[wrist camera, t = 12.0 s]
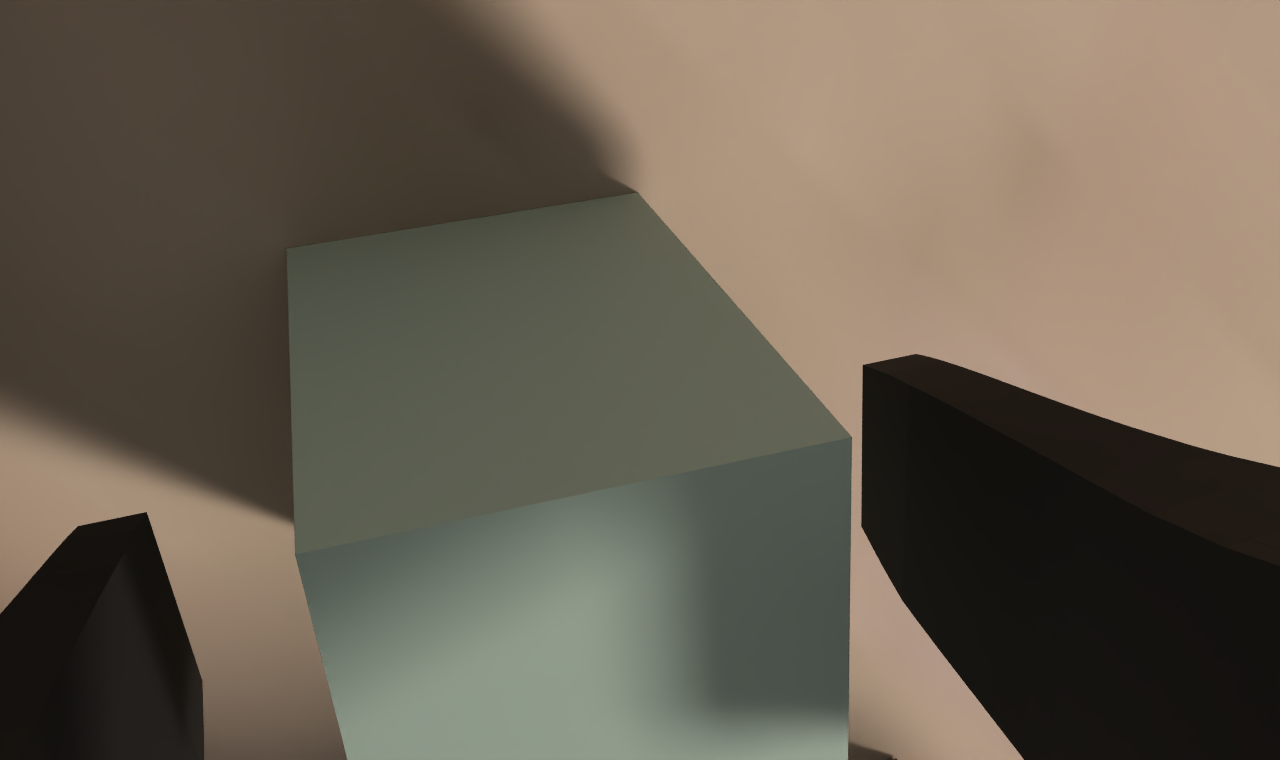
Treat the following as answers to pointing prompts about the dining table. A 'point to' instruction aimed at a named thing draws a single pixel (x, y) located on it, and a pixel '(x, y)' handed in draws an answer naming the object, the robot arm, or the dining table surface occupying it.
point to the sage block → (562, 499)
